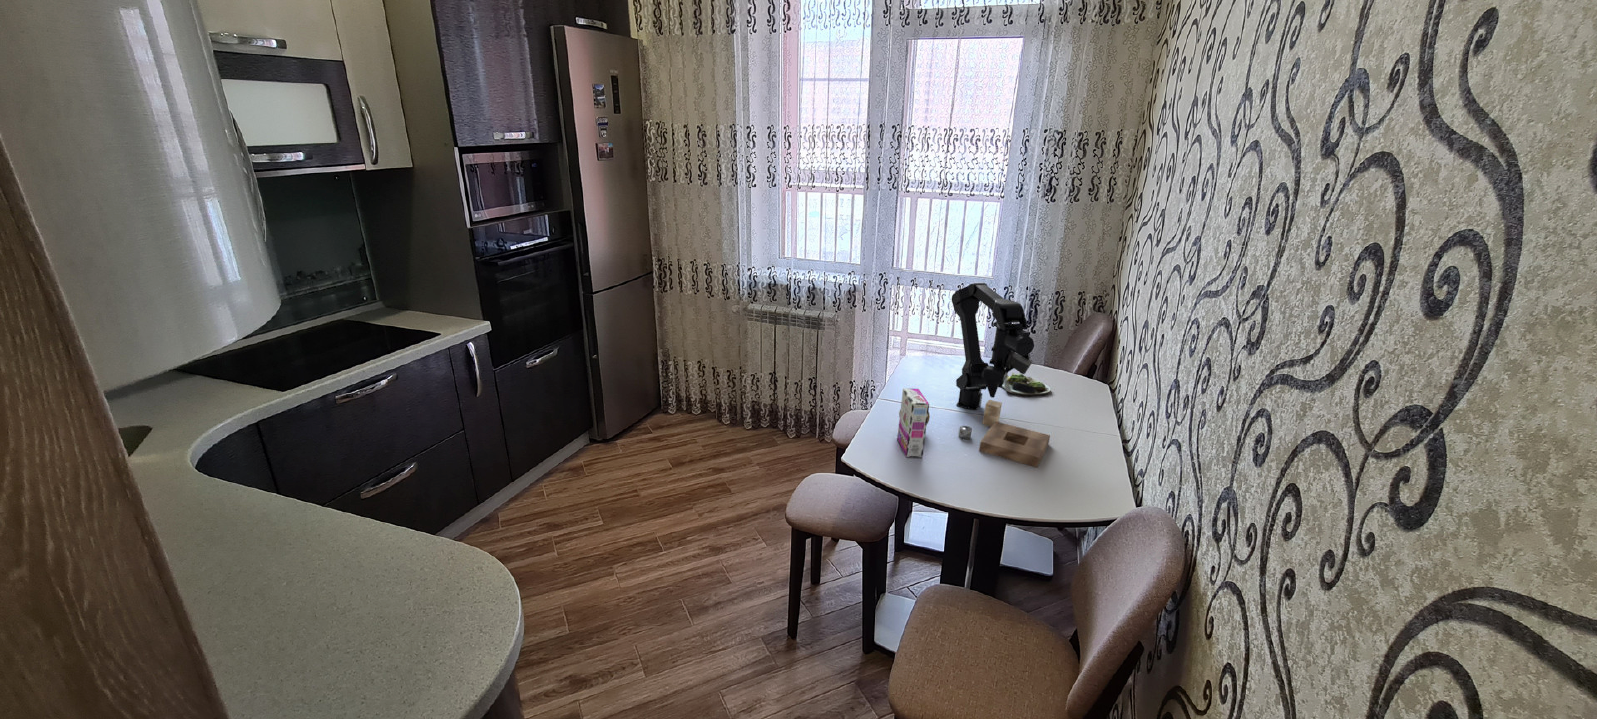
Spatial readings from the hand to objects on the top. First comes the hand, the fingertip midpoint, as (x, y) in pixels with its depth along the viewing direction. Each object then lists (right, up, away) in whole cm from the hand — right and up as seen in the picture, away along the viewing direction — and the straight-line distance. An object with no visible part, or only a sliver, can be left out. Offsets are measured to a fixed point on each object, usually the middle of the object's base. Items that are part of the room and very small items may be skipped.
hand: (996, 392), depth 189 cm
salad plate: (+20, -1, +32) cm, 38 cm away
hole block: (+2, -15, -11) cm, 19 cm away
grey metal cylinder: (-11, -13, -6) cm, 18 cm away
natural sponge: (-26, -12, -4) cm, 29 cm away
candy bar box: (-29, -16, -13) cm, 35 cm away
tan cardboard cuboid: (-1, -10, +4) cm, 11 cm away
